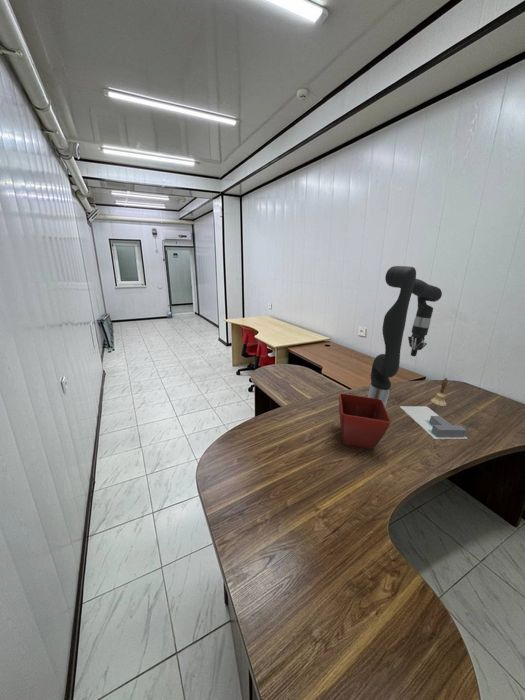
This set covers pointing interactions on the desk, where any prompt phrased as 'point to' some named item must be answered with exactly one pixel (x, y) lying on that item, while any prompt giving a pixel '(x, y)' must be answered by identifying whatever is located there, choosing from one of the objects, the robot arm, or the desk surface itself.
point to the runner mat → (424, 418)
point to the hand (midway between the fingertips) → (413, 355)
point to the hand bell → (440, 395)
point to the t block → (445, 428)
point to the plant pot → (362, 420)
